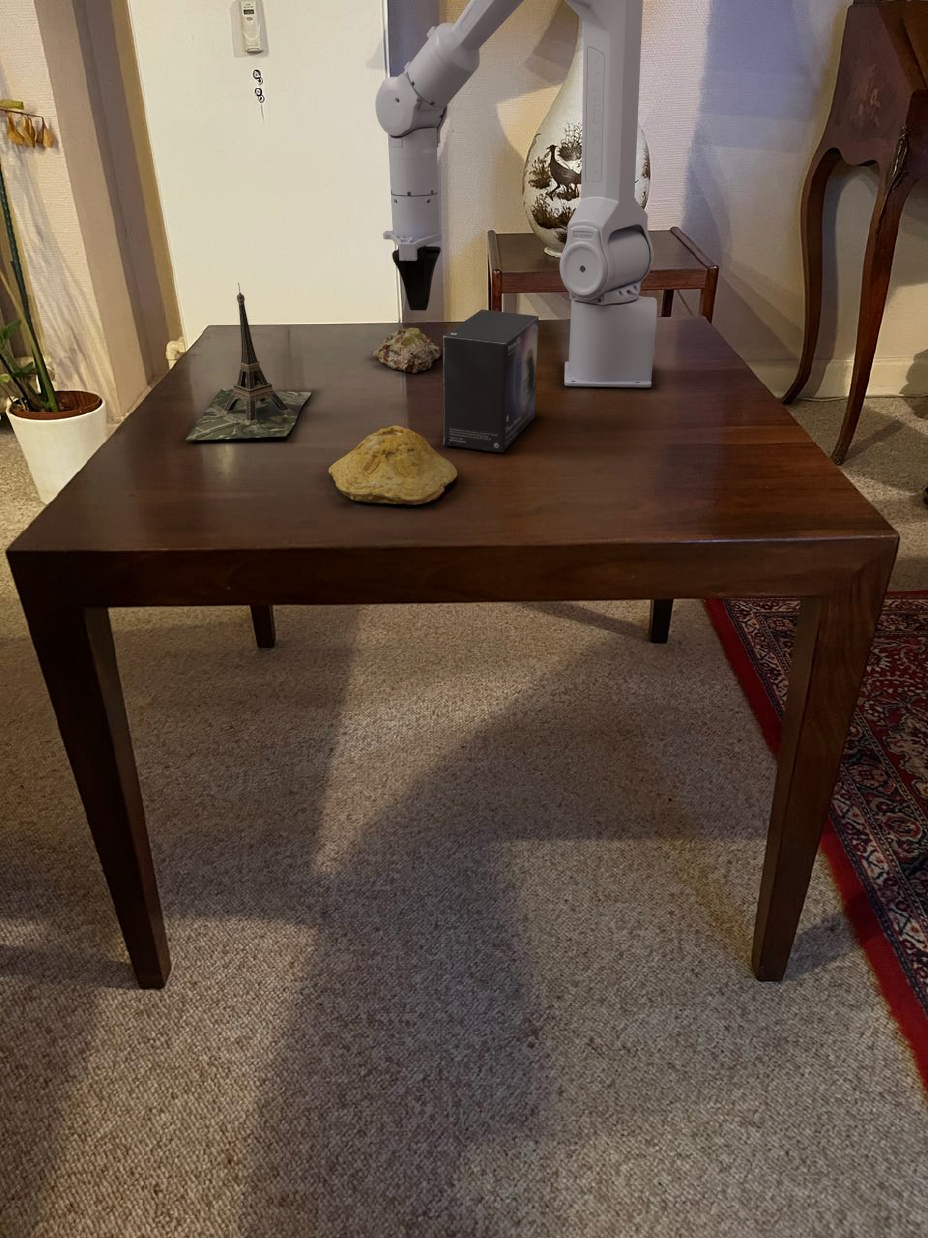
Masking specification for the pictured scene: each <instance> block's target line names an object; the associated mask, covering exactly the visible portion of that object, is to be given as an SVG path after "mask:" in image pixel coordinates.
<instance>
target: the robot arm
mask: <svg viewBox="0 0 928 1238" xmlns="http://www.w3.org/2000/svg"><path fill="white" fill-rule="evenodd" d="M524 1H525V0H470V1H469V2H468V3H467V5H466V6H465V8H464V10H463V11H462V12H461V14H460V15H459V17H458V19H456V21H455V23H454V22H442V23H440V24H439V25H438V26H437V25H436V26H433V25H432V26H431V28H429V31H427V33H426V37H427V38H428V39H427V41H426V42H425V43H424V44H423V46H422V47H421V49H420V50H419V51H418V52H417V54H416V55H415V57H414V58H413V59H412V61H411V60H410V61H408V62H407V63H406V64H405V65H404V68H403V69H404V71H403V72H401V73H400V74H399V75H398V76H389V77H387V78H384V79H383V80H382V82H381V85H380V87H379V88H378V90H377V93H376V95H375V106H374V107H375V113H376V114H375V115H376V119H377V121H378V124H379V125H380V127H381V128H382V130H383V131H384V132H385V133H386V134H387V148H388V168H389V170H388V171H389V186H390V187H389V188H390V204H391V208H390V209H391V226H392V227H391V229H392V230H385V231H384V232H383V233H382V238H383V240H391V241H392V242H393V243H394V244H395V245H396V246H397V247H398V248H397V249H396V250H393V252H392V253H391V258H392V260H393V263H394V264H395V266H396V268H397V270H398V273H399V275H400V277H401V280H402V284H403V287H404V291H405V296H406V300H407V304H408V307H409V310H410V311H422V312H423V311H424V312H425V311H427V310H428V307H429V302H430V297H431V291H432V282H433V277H434V271H435V268H436V265H437V261H438V259H439V256H440V254H441V252H442V249H441V248H442V247H440V246H438V245H437V246H435V245H430V244H433V243H436V242H439V241H441V239H442V232H441V230H440V213H439V212H440V211H439V210H440V209H439V205H440V204H439V176H438V175H439V169H438V167H439V166H438V148H439V145H440V144H441V131H442V128H443V126H444V124H445V123H446V119H447V116H448V104H450V103H451V101H452V100H453V99H454V98H455V96H457V94H458V93H459V91H461V89H462V88H463V87H464V86H465V84H466V83H467V82H468V81H469V80H470V78H471V77H472V76H473V75H474V74H475V73H476V71H477V70H478V68H480V67H479V66H480V62H481V54H480V53H481V52H480V48H481V47H482V46H483V45H484V44H485V43H486V42H487V41H488V40H489V39H490V38H491V37H492V35H493V34H494V33H495V32H496V31H497V30H498V29H500V27H501V26H502V25H503V23H504V22H506V21H507V19H508V18H509V17H510V16H511V15H512V14H513V13H514V12H515V11H516V10H517V9H518V8H519V7H520V5H521V4H522V3H523V2H524ZM563 1H564V2H565V3H566V4H567V5H568V6H569V7H570V8H571V9H572V10H573V11H574V12H575V13H576V14H577V15H578V17H579V18H580V19H581V20H582V22H583V23H582V24H583V48H582V52H583V53H582V54H583V55H582V66H583V67H582V110H581V111H582V115H581V117H582V119H581V172H580V173H581V176H580V177H581V179H580V180H581V181H580V182H581V183H580V201H579V203H578V205H577V207H576V209H575V211H574V213H573V214H572V216H571V218H570V219H569V221H568V223H567V235H566V236H567V237H566V242H565V245H564V248H563V250H562V252H561V255H560V258H559V274H560V278H561V281H562V283H563V286H564V288H566V290H567V292H568V293H569V300H571V303H570V325H569V345H568V346H569V348H568V360H567V361H565V362H564V383H563V384H564V386H565V387H588V388H589V387H591V388H592V387H594V388H596V387H597V388H599V387H600V388H606V387H607V388H651V387H652V384H653V383H652V376H653V367H655V359H656V350H655V345H656V335H657V322H658V321H657V320H658V318H657V317H658V302H657V298H656V297H652V296H642V295H640V292H641V285H642V281H644V279H646V278H647V277H648V275H649V274H650V272H651V270H652V267H653V265H654V260H655V251H654V246H653V243H652V240H651V237H650V233H649V229H648V227H649V226H648V225H649V224H648V223H649V221H648V219H649V215H648V213H647V212H646V210H645V209H644V208H643V207H642V205H641V204H640V203H639V202H638V201H637V199H636V198H635V197H636V196H635V195H636V174H637V173H636V171H637V170H636V169H637V151H638V150H637V149H638V148H637V147H638V125H639V105H640V104H639V103H640V102H639V101H640V82H641V81H640V80H641V79H640V78H641V58H642V57H641V52H642V35H643V33H642V31H643V28H642V27H643V7H644V6H643V5H644V0H563Z"/></svg>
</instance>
